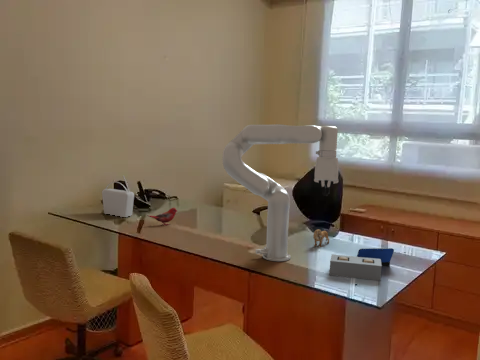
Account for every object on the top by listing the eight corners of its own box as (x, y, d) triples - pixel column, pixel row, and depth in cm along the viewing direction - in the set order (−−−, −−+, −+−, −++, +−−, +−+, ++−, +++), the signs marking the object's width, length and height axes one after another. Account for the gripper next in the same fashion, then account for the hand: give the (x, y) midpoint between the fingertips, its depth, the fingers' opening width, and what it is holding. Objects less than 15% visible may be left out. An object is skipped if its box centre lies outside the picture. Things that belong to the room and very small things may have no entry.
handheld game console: (382, 260, 222) (383, 240, 221) (393, 269, 209) (395, 248, 208) (348, 260, 221) (349, 240, 220) (358, 269, 208) (359, 248, 206)
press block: (329, 275, 198) (330, 260, 197) (331, 267, 208) (331, 254, 207) (380, 280, 193) (381, 265, 192) (379, 272, 203) (380, 258, 202)
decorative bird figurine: (178, 225, 279) (178, 207, 277) (147, 226, 272) (147, 209, 271) (177, 224, 281) (177, 207, 280) (146, 225, 275) (146, 208, 273)
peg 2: (362, 275, 198) (363, 261, 197) (362, 273, 201) (363, 259, 201) (372, 276, 197) (373, 262, 196) (371, 274, 201) (372, 259, 200)
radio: (136, 216, 298) (136, 176, 295) (126, 218, 291) (126, 177, 288) (111, 211, 310) (111, 172, 307) (101, 213, 303) (100, 174, 300)
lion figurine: (320, 249, 237) (321, 231, 236) (310, 247, 240) (311, 229, 238) (330, 242, 250) (331, 225, 249) (321, 241, 252) (321, 224, 251)
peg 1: (337, 273, 200) (338, 259, 200) (338, 270, 204) (339, 256, 203) (346, 274, 199) (347, 259, 199) (347, 271, 203) (348, 257, 202)
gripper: (309, 154, 212) (307, 195, 215) (344, 155, 209) (342, 198, 211) (311, 152, 219) (309, 193, 222) (345, 154, 216) (342, 195, 218)
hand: (325, 195), depth 217 cm, fingers closed
